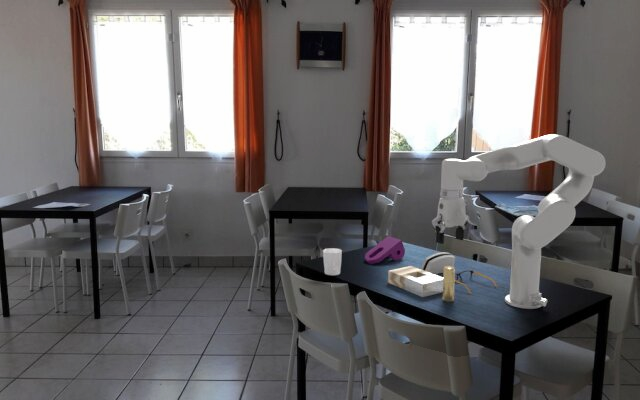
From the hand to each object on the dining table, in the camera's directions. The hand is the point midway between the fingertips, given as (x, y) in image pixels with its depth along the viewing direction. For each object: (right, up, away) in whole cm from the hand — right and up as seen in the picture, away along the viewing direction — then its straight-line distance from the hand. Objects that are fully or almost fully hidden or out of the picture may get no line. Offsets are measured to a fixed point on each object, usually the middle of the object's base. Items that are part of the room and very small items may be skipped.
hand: (449, 241), depth 186 cm
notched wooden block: (-11, -19, +22) cm, 31 cm away
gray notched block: (-6, -20, +14) cm, 25 cm away
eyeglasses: (+13, -20, +19) cm, 30 cm away
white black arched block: (+3, -17, +36) cm, 39 cm away
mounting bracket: (-17, -14, +56) cm, 60 cm away
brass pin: (0, -22, +4) cm, 22 cm away
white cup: (-41, -17, +36) cm, 57 cm away
